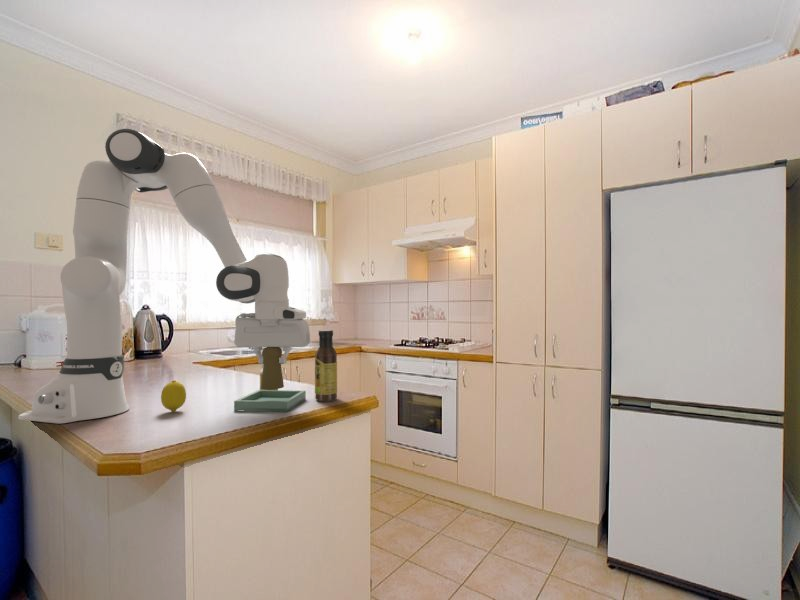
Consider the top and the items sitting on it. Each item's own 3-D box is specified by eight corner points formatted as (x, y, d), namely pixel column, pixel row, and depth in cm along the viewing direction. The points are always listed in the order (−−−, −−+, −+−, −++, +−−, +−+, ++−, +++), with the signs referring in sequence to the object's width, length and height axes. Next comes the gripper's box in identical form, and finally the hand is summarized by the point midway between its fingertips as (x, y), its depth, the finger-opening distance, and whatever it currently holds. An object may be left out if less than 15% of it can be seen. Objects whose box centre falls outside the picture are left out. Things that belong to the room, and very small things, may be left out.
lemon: (155, 413, 100) (156, 381, 100) (175, 408, 105) (175, 377, 105) (171, 415, 98) (171, 382, 98) (191, 410, 103) (191, 379, 103)
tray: (234, 410, 102) (234, 401, 102) (258, 398, 116) (258, 390, 116) (287, 411, 101) (287, 401, 101) (305, 399, 115) (305, 390, 115)
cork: (275, 390, 105) (275, 348, 105) (255, 389, 106) (255, 347, 107) (288, 385, 111) (287, 345, 111) (269, 384, 112) (268, 345, 112)
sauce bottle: (315, 397, 117) (315, 329, 117) (337, 396, 118) (336, 329, 118) (314, 402, 110) (314, 330, 111) (337, 401, 111) (337, 330, 112)
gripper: (229, 313, 107) (229, 365, 107) (304, 312, 105) (304, 365, 105) (241, 313, 113) (241, 362, 113) (311, 312, 111) (312, 362, 111)
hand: (272, 363), depth 109 cm, fingers closed on cork, 4 cm apart
